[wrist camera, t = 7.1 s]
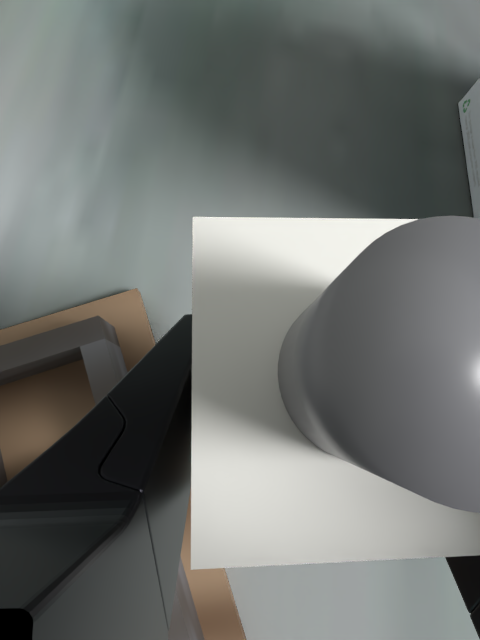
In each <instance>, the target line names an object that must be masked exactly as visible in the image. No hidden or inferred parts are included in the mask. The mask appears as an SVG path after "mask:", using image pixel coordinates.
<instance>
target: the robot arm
mask: <svg viewBox="0 0 480 640" xmlns="http://www.w3.org/2000/svg"><path fill="white" fill-rule="evenodd" d="M191 433H192V314H187V315H184V316H183V317H182V318H181V319H180V320H179V321H178V322H177V323H176V324H175V325H174V326H173V327H172V328H171V329H170V330H169V331H168V332H167V333H166V334H165V335H164V336H163V337H162V339H161V340H160V341H159V342H158V343H157V344H156V345H155V346H154V347H153V348H152V349H151V350H150V351H149V352H148V353H147V354H146V355H145V356H144V357H143V358H142V359H141V360H140V361H139V362H138V363H137V364H136V365H135V366H134V367H133V368H132V369H131V370H130V371H129V372H128V373H127V374H126V375H125V376H124V377H123V378H122V379H121V380H120V381H119V382H118V383H117V384H116V385H115V386H114V387H113V388H112V389H111V390H110V391H109V392H108V393H107V396H104V397H103V398H102V399H101V400H100V401H99V402H98V403H97V404H96V405H95V406H94V407H93V408H92V409H91V410H90V411H89V412H88V413H87V414H86V415H85V416H84V417H83V418H82V419H81V420H80V421H79V422H78V423H77V424H76V425H75V426H74V427H72V428H71V429H70V430H69V431H68V432H67V433H65V434H64V435H63V436H62V437H61V438H60V439H58V440H57V441H56V442H55V443H54V444H53V445H52V446H50V447H49V448H48V449H47V450H46V451H44V452H43V453H42V454H41V455H39V456H38V457H37V458H36V459H35V460H33V461H32V462H31V463H30V464H29V465H27V466H26V467H25V468H24V469H23V470H21V471H20V472H19V473H18V474H16V475H15V476H14V477H13V478H12V479H10V480H9V481H8V482H7V483H6V484H4V485H3V486H2V487H1V488H0V640H168V631H169V628H170V621H171V615H172V608H173V601H174V595H175V588H176V582H177V575H178V568H179V562H180V555H181V549H182V542H183V536H184V529H185V522H186V516H187V509H188V503H189V496H190V489H191ZM445 558H446V560H447V562H448V565H449V567H450V569H451V572H452V574H453V577H454V579H455V581H456V584H457V586H458V588H459V591H460V593H461V595H462V598H463V600H464V602H465V605H466V607H467V610H468V612H469V613H471V614H470V617H471V620H472V622H473V624H474V627H475V629H476V631H477V634H478V636H479V639H480V555H476V556H456V557H445Z"/></svg>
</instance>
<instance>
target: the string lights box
mask: <svg viewBox="0 0 480 640" xmlns="http://www.w3.org/2000/svg"><path fill="white" fill-rule="evenodd" d="M458 106H459V114H460V121H461V128H462V134H463V141H464V149H465V157H466V164H467V171H468V178H469V185H470V192H471V199H472V207H473V214H474V218H478V219H480V78H479V79H478V80H477V81H476V83H475V84H474V85H473V86H472V88H471V89H470V90H469V91H468V93H467V94H466V95H465V96H464V97H463V99H462V100H461V101H460V102H459V104H458Z"/></svg>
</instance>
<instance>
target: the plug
mask: <svg viewBox="0 0 480 640" xmlns="http://www.w3.org/2000/svg"><path fill="white" fill-rule="evenodd" d="M476 555H480V219H478V218H472V217H464V216H434V217H429V218H424V219H351V218H253V217H193V259H192V433H191V570H195V569H215V568H235V567H255V566H275V565H295V564H315V563H335V562H356V561H376V560H396V559H416V558H436V557H456V556H476Z"/></svg>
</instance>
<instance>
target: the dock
mask: <svg viewBox="0 0 480 640" xmlns="http://www.w3.org/2000/svg"><path fill="white" fill-rule="evenodd" d="M155 345H156V343H155V340H154V337H153V333H152V330H151V327H150V324H149V320H148V317H147V314H146V311H145V307H144V304H143V301H142V298H141V294H140V292H139V291H138V289H137V288H136V289H132V290H129V291H126V292H123V293H119V294H116V295H113V296H110V297H106V298H103V299H100V300H96V301H93V302H90V303H87V304H83V305H80V306H77V307H73V308H70V309H67V310H64V311H60V312H57V313H54V314H51V315H47V316H44V317H41V318H37V319H34V320H31V321H28V322H24V323H21V324H18V325H14V326H11V327H8V328H5V329H1V330H0V488H1V487H2V486H3V485H4V484H6V483H7V482H8V481H9V480H10V479H12V478H13V477H14V476H15V475H16V474H18V473H19V472H20V471H21V470H23V469H24V468H25V467H26V466H27V465H29V464H30V463H31V462H32V461H33V460H35V459H36V458H37V457H38V456H39V455H41V454H42V453H43V452H44V451H46V450H47V449H48V448H49V447H50V446H52V445H53V444H54V443H55V442H56V441H57V440H58V439H60V438H61V437H62V436H63V435H64V434H65V433H67V432H68V431H69V430H70V429H71V428H72V427H74V426H75V425H76V424H77V423H78V422H79V421H80V420H81V419H82V418H83V417H84V416H85V415H86V414H87V413H88V412H89V411H90V410H91V409H92V408H93V407H94V406H95V405H96V404H97V403H98V402H99V401H100V400H101V399H102V398H103V397H104V396H107V393H108V392H109V391H110V390H111V389H112V388H113V387H114V386H115V385H116V384H117V383H118V382H119V381H120V380H121V379H122V378H123V377H124V376H125V375H126V374H127V373H128V372H129V371H130V370H131V369H132V368H133V367H134V366H135V365H136V364H137V363H138V362H139V361H140V360H141V359H142V358H143V357H144V356H145V355H146V354H147V353H148V352H149V351H150V350H151V349H152V348H153V347H154V346H155ZM168 640H246V637H245V633H244V630H243V627H242V624H241V620H240V617H239V614H238V611H237V607H236V604H235V601H234V598H233V594H232V591H231V588H230V585H229V581H228V578H227V575H226V572H225V568H215V569H195V570H191V489H190V496H189V503H188V509H187V516H186V522H185V529H184V536H183V542H182V549H181V555H180V562H179V568H178V575H177V582H176V588H175V595H174V601H173V608H172V615H171V621H170V628H169V631H168Z"/></svg>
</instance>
